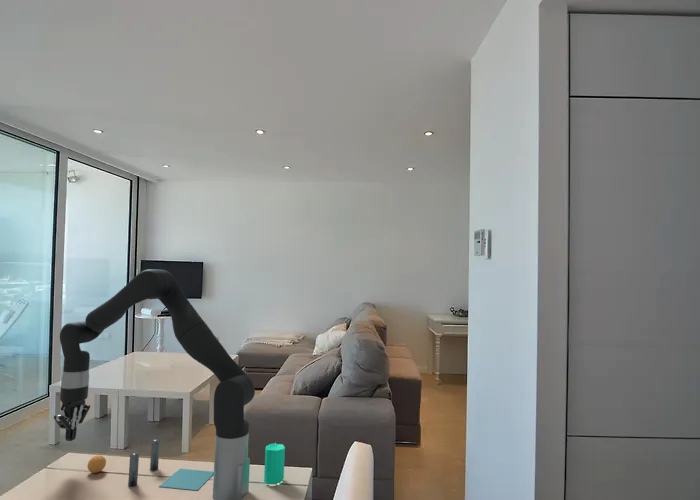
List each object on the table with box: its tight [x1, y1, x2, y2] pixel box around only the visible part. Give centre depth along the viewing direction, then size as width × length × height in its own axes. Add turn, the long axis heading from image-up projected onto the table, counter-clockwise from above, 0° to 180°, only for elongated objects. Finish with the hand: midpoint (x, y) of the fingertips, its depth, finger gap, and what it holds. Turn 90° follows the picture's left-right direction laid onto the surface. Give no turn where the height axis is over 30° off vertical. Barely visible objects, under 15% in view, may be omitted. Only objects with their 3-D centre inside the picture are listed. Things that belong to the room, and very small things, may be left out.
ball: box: [87, 454, 107, 474], centre depth 134 cm, size 5×5×5 cm
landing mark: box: [158, 468, 214, 492], centre depth 131 cm, size 12×12×1 cm
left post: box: [127, 451, 140, 488], centre depth 127 cm, size 2×2×9 cm
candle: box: [263, 441, 286, 484], centre depth 132 cm, size 6×6×12 cm
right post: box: [149, 438, 161, 472], centre depth 138 cm, size 2×2×9 cm
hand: (70, 439), depth 136 cm, fingers closed
